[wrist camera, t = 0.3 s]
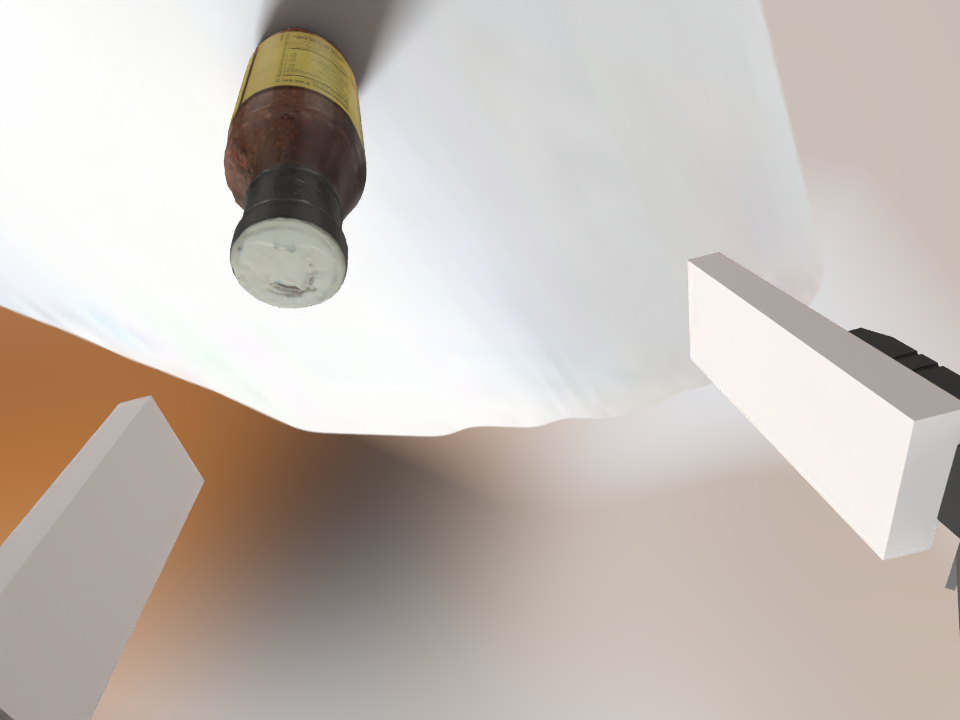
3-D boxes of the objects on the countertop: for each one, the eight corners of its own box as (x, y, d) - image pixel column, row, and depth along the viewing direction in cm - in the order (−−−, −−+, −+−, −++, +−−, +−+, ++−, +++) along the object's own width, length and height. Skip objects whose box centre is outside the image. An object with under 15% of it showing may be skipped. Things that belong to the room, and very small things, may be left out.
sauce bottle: (311, 149, 36) (293, 365, 23) (226, 74, 32) (144, 281, 19) (382, 81, 34) (408, 275, 21) (300, -10, 30) (267, 158, 17)
